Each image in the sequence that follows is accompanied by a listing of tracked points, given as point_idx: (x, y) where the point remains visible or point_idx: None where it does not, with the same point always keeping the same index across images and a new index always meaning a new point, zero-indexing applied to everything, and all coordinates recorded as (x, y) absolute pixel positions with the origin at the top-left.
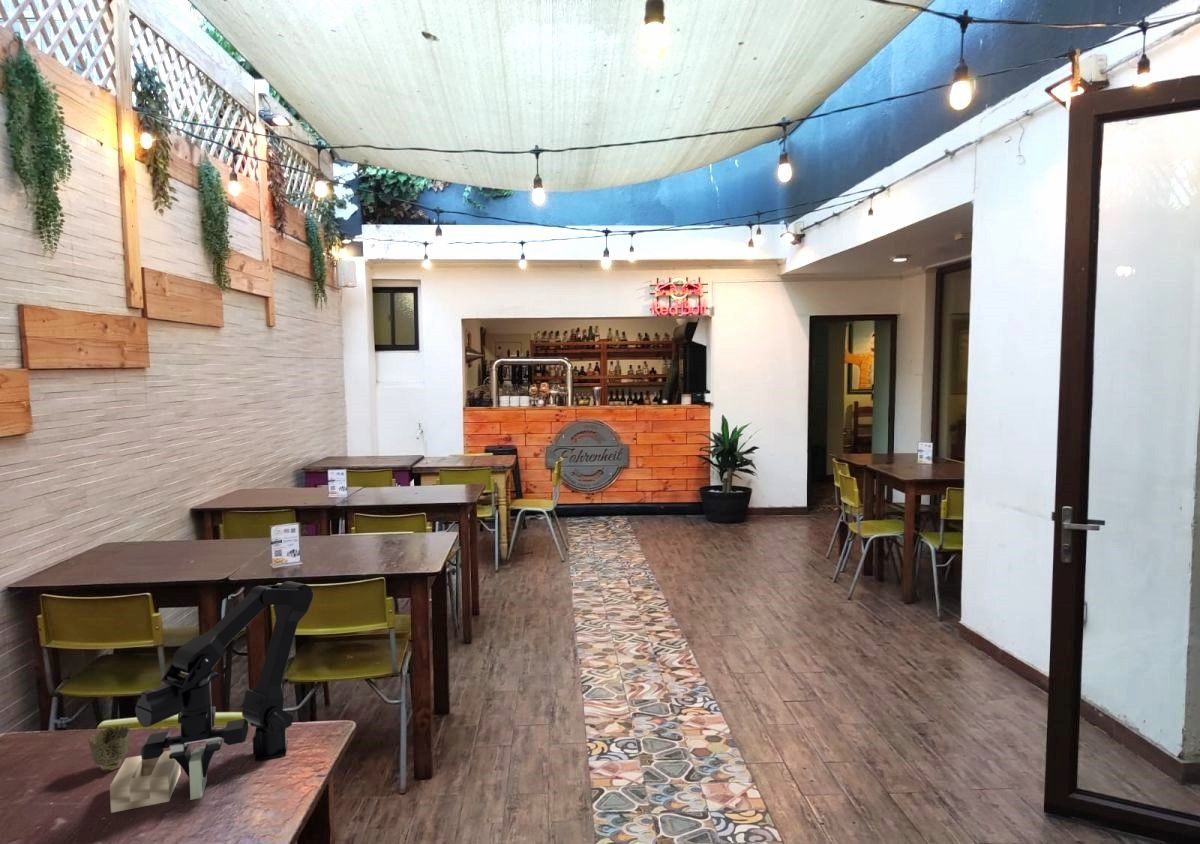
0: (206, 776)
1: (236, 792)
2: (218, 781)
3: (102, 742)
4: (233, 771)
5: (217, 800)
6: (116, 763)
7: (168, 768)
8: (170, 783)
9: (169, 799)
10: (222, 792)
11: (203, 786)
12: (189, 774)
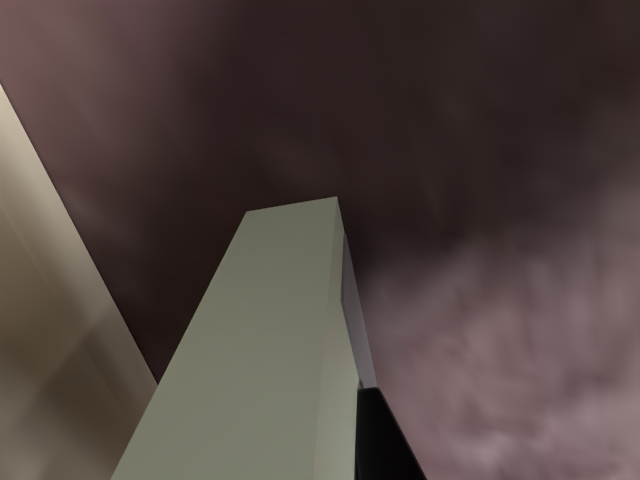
0: (335, 229)
1: (636, 390)
2: (452, 209)
3: None
4: (589, 23)
5: (504, 442)
6: None
7: None
8: (79, 441)
9: (154, 388)
10: (524, 370)
11: (370, 374)
12: None
